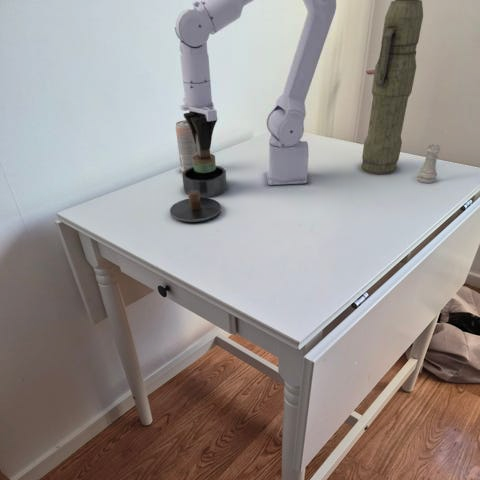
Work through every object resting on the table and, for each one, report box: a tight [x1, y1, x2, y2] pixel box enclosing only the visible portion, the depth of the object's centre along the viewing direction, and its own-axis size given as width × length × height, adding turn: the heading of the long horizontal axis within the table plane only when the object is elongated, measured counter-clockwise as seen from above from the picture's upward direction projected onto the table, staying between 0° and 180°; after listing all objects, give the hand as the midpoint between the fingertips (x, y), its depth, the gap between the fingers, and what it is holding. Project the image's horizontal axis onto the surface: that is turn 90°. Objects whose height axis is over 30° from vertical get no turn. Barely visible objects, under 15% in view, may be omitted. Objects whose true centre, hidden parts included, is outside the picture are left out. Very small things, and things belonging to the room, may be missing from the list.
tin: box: [181, 165, 228, 198], centre depth 102 cm, size 10×10×4 cm
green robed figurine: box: [360, 0, 424, 176], centre depth 98 cm, size 9×12×35 cm
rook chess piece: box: [416, 143, 442, 184], centre depth 99 cm, size 4×4×8 cm
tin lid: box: [169, 190, 222, 223], centre depth 92 cm, size 11×11×5 cm
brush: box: [193, 133, 217, 173], centre depth 97 cm, size 5×5×8 cm
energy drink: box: [175, 119, 197, 173], centre depth 110 cm, size 5×5×12 cm
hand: (203, 147), depth 97 cm, fingers closed on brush, 2 cm apart
